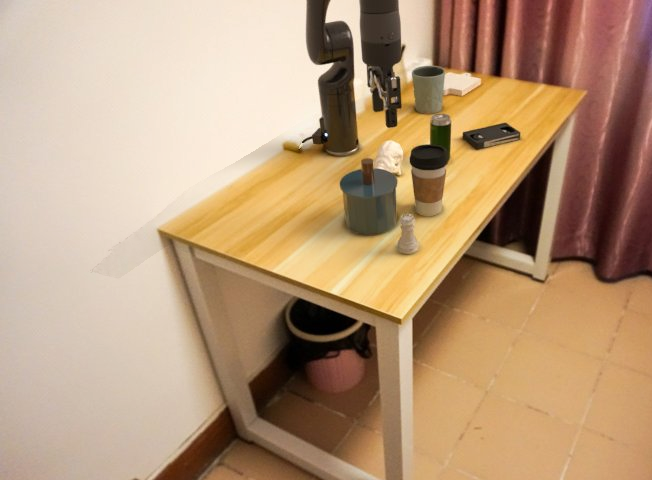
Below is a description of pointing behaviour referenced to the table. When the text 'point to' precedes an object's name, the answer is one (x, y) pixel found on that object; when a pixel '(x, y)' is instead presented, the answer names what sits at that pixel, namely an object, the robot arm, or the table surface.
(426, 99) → the grey green tumbler
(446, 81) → the mounting plate
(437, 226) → the table surface
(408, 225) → the rook chess piece
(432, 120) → the beer can
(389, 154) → the white figurine
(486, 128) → the vhs tape
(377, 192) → the lid
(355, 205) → the canister
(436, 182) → the coffee cup
